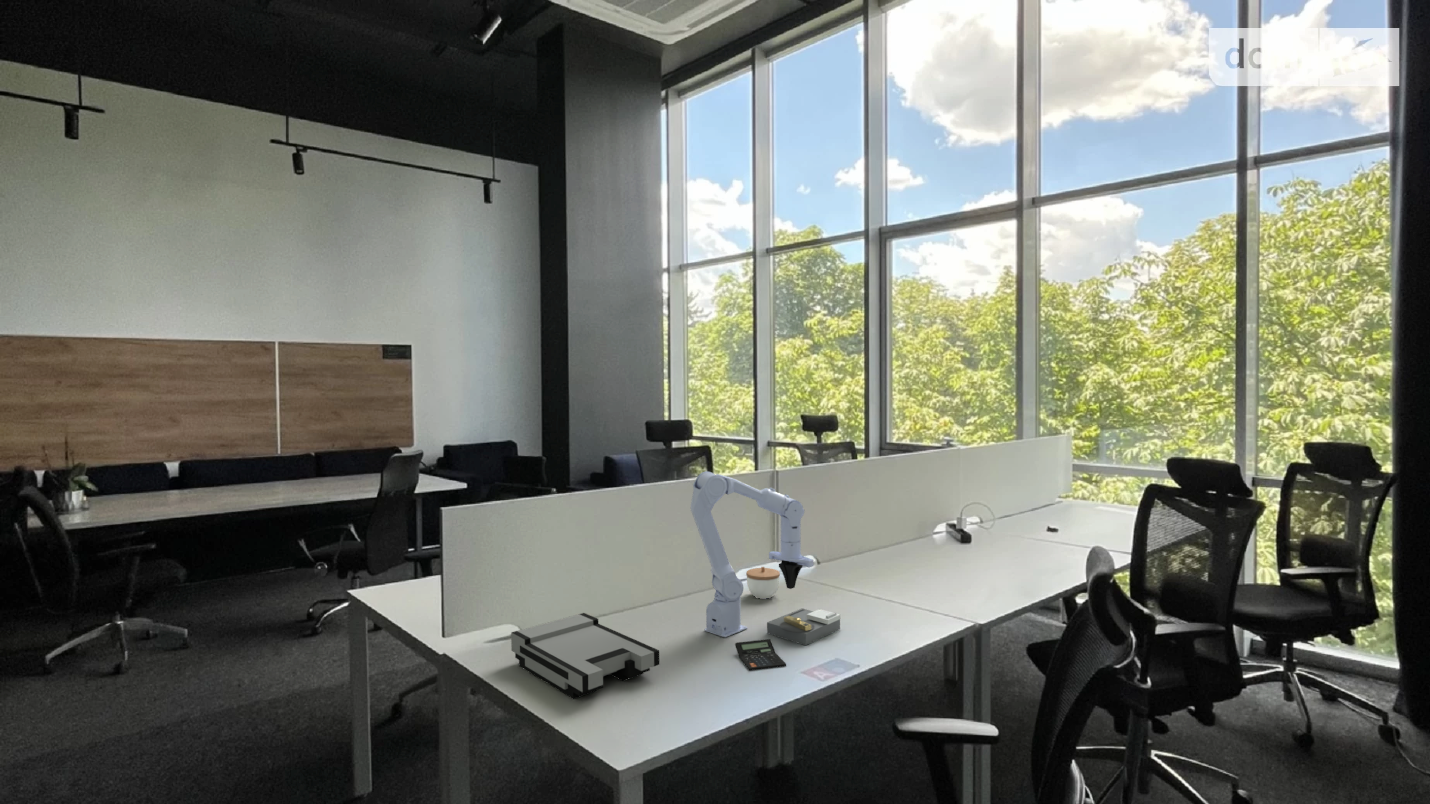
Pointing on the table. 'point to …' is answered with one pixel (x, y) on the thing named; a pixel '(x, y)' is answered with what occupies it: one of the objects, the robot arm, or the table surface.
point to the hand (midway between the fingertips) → (790, 587)
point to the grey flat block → (799, 635)
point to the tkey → (797, 623)
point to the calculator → (759, 655)
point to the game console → (580, 654)
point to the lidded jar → (763, 582)
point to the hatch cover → (823, 616)
